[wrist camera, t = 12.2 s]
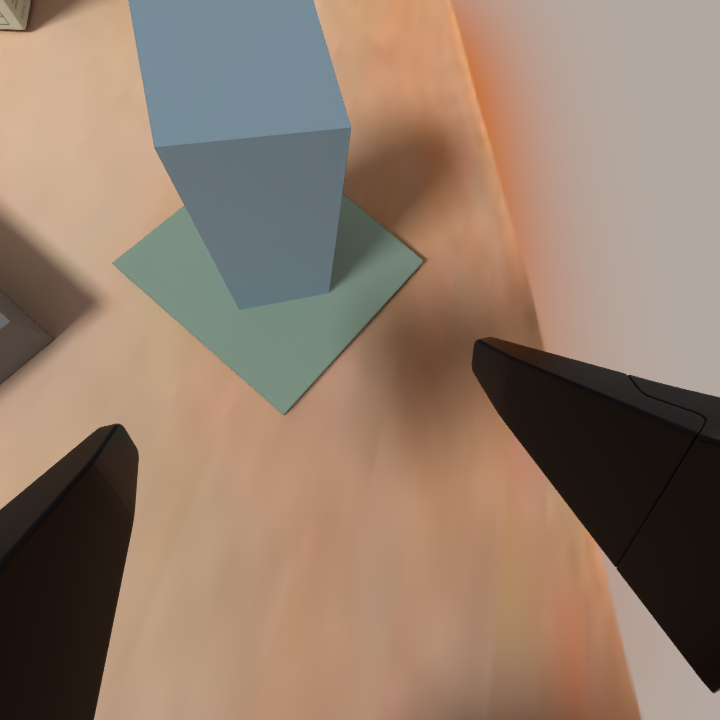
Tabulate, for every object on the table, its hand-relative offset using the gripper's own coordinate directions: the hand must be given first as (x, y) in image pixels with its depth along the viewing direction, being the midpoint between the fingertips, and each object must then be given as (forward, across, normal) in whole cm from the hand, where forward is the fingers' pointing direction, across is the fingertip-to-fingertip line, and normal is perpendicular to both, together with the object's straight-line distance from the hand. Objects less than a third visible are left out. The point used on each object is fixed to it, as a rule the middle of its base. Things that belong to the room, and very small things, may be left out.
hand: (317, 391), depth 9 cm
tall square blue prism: (+11, 0, 0) cm, 11 cm away
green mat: (+12, 0, 0) cm, 12 cm away
